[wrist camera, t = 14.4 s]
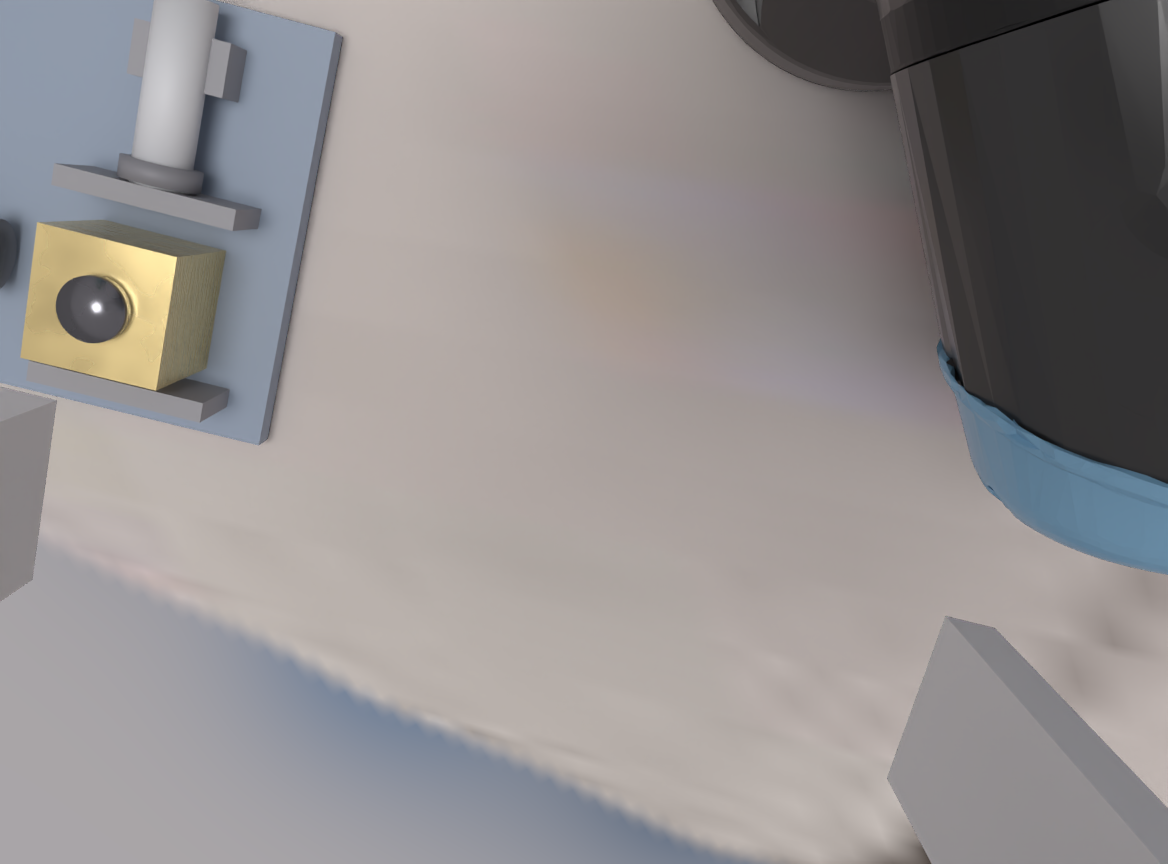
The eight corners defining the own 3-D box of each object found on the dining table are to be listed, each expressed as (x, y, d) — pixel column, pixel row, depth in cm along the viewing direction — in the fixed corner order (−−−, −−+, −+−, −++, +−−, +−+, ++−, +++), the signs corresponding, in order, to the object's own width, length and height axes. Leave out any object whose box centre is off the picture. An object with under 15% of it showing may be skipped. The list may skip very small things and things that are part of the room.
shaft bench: (-61, -71, 39) (-143, -106, 34) (342, 37, 40) (312, 16, 35) (-102, 349, 42) (-181, 366, 38) (267, 438, 43) (231, 465, 39)
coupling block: (86, 339, 41) (11, 360, 36) (103, 219, 40) (27, 222, 35) (206, 368, 41) (149, 393, 36) (226, 250, 40) (170, 258, 35)
